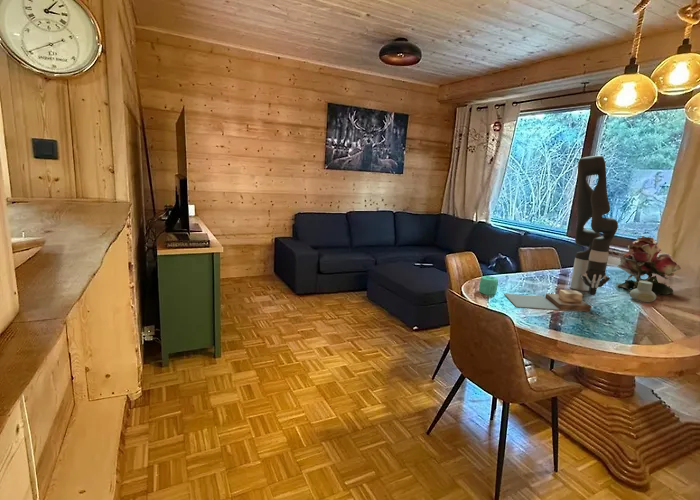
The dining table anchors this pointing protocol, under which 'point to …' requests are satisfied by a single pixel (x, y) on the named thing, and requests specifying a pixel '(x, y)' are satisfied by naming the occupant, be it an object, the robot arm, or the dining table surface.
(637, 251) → the rose bouquet
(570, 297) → the beech block
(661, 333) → the dining table surface
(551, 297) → the walnut board
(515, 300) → the slate mat
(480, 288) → the green cylinder
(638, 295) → the air freshener
